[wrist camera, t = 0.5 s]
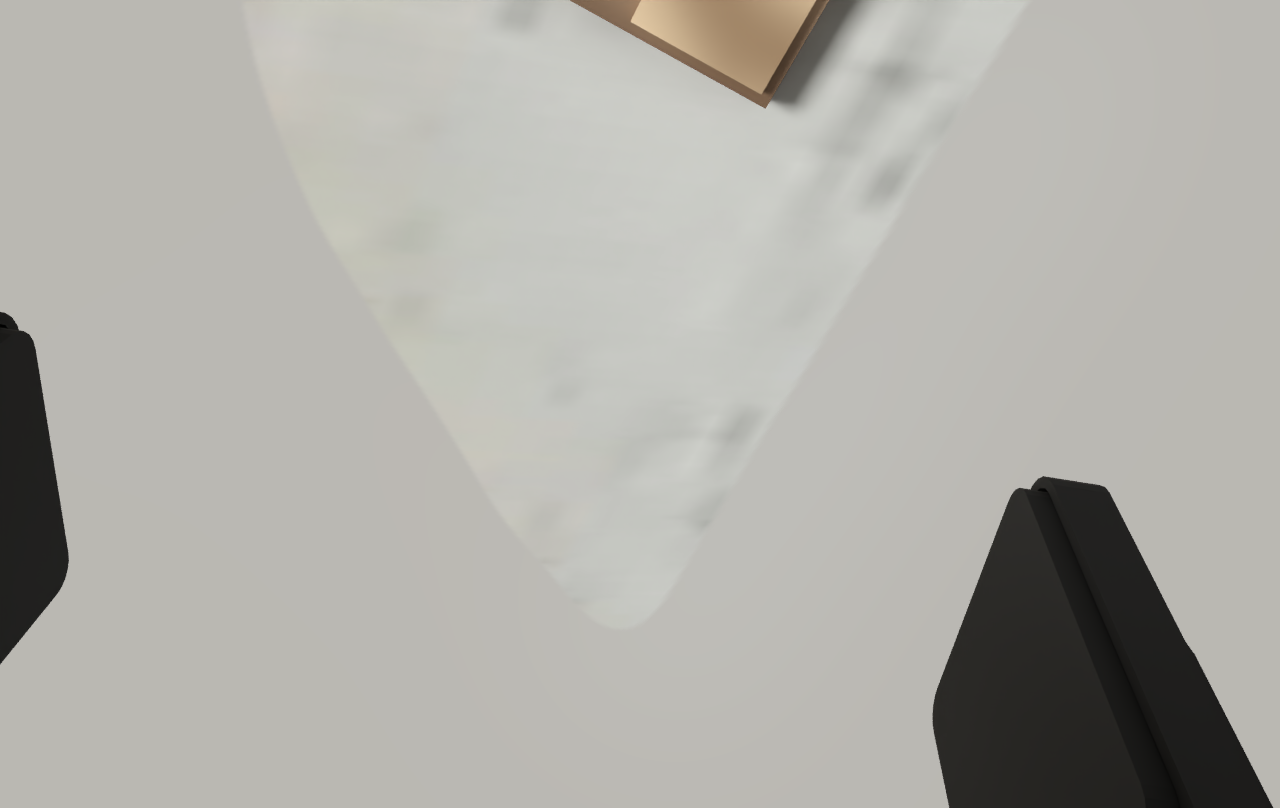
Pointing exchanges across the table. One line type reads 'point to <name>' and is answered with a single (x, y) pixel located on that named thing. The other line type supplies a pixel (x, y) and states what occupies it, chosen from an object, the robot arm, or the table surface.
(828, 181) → the table surface
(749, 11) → the dial board
